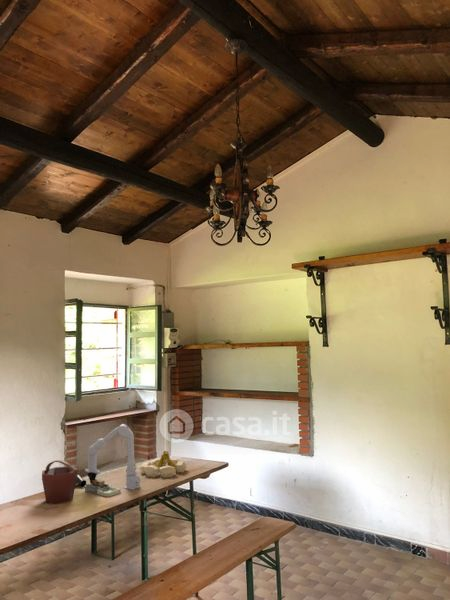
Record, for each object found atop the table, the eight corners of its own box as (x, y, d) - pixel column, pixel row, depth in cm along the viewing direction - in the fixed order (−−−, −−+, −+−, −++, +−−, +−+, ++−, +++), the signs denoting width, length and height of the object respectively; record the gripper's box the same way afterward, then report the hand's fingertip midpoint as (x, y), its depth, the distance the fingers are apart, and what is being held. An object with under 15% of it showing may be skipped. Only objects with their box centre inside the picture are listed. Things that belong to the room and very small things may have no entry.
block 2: (104, 486, 322) (104, 480, 322) (99, 488, 319) (99, 482, 319) (100, 485, 324) (100, 479, 325) (96, 487, 321) (96, 481, 321)
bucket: (83, 499, 304) (83, 460, 307) (50, 508, 288) (50, 467, 291) (65, 492, 321) (65, 455, 324) (33, 500, 305) (34, 461, 308)
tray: (120, 492, 317) (120, 488, 317) (107, 497, 308) (107, 493, 308) (109, 490, 323) (109, 486, 324) (96, 494, 315) (96, 490, 315)
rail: (109, 490, 323) (109, 483, 323) (97, 494, 315) (97, 487, 316) (96, 487, 331) (96, 480, 332) (84, 490, 323) (84, 484, 324)
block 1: (100, 485, 324) (100, 479, 325) (95, 487, 321) (95, 481, 322) (96, 484, 327) (96, 478, 327) (92, 486, 324) (92, 480, 324)
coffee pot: (81, 483, 342) (88, 486, 337) (59, 492, 328) (65, 496, 323) (80, 473, 342) (87, 476, 336) (58, 482, 328) (65, 486, 322)
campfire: (166, 480, 344) (166, 456, 346) (132, 475, 362) (131, 452, 364) (193, 469, 374) (193, 447, 376) (160, 465, 391) (160, 444, 393)
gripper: (81, 463, 329) (81, 483, 328) (94, 466, 321) (94, 486, 319) (89, 461, 335) (89, 481, 334) (102, 463, 326) (102, 484, 325)
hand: (92, 483), depth 327 cm, fingers closed
